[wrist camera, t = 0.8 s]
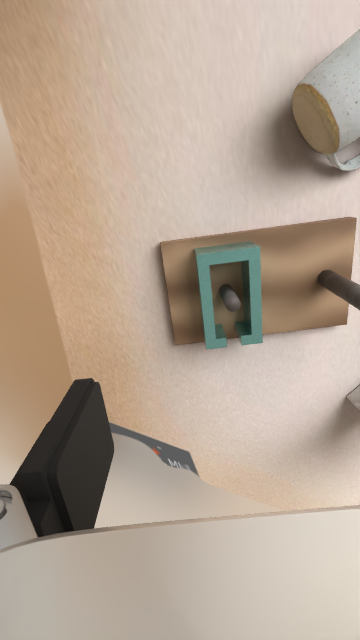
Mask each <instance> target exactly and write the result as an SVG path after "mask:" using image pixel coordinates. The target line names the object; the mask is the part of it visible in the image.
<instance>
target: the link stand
mask: <svg viewBox="0 0 360 640" xmlns="http://www.w3.org/2000/svg"><path fill="white" fill-rule="evenodd" d="M356 219H357V218H353V217H345V218H338V219H330V220H323V221H315V222H308V223H300V224H292V225H285V226H277V227H270V228H262V229H255V230H247V231H240V232H232V233H225V234H217V235H209V236H202V237H194V238H187V239H179V240H172V241H164V242H161V251H162V258H163V265H164V271H165V278H166V285H167V291H168V298H169V305H170V311H171V318H172V325H173V332H174V338H175V345H180V344H189V343H197V342H205V340H204V335H203V325H202V316H201V307H200V298H199V288H198V279H197V270H196V260H195V251H194V248H201V247H209V246H217V245H224V244H232V243H239V242H247V241H252V242H253V243H255V244H257V245H258V246H260V260H261V300H262V335H263V334H272V333H280V332H288V331H296V330H305V329H313V328H321V327H330V326H338V325H346V324H347V317H348V306H349V303H350V304H351V305H353V306H354V307H356V308H357V309H359V310H360V285H359V284H357V283H355V282H353V281H351V274H352V263H353V252H354V241H355V230H356ZM209 268H210V279H211V290H212V301H213V312H214V323H215V325H217V324H222V327H223V330H224V332H225V335H226V339H230V338H238V336H237V333H236V331H235V322H241V321H244V303H243V282H242V262H241V261H237V262H229V263H222V264H214V265H209Z"/></svg>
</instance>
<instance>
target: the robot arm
mask: <svg viewBox="0 0 360 640" xmlns="http://www.w3.org/2000/svg"><path fill="white" fill-rule="evenodd" d="M113 454H114V443H113V439H112V434H111V430H110V426H109V422H108V417H107V413H106V409H105V405H104V400H103V396H102V392H101V388H100V384H99V382H94V380H93V379H92V378H89V379H79V380H75V381H74V382H73V384H72V385H71V387H70V389H69V390H68V392H67V394H66V395H65V397H64V398H63V400H62V402H61V404H60V405H59V407H58V408H57V410H56V412H55V413H54V415H53V417H52V418H51V420H50V421H49V422H48V423H47V424H46V426H45V427H44V429H43V431H42V432H41V434H40V436H39V438H38V439H37V440H36V442H35V444H34V445H33V447H32V449H31V450H30V452H29V453H28V455H27V457H26V458H25V460H24V462H23V464H22V465H21V466H20V468H19V470H18V471H17V473H16V475H15V477H14V478H13V480H12V481H11V483H10V484H9V485H0V640H360V505H354V506H342V507H330V508H317V509H305V510H293V511H281V512H269V513H257V514H245V515H233V516H223V517H210V518H199V519H188V520H177V521H165V522H154V523H143V524H133V525H123V526H113V527H104V528H96V529H94V525H95V522H96V518H97V514H98V511H99V507H100V503H101V499H102V495H103V492H104V488H105V484H106V481H107V477H108V473H109V469H110V465H111V461H112V458H113Z"/></svg>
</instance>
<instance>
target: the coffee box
mask: <svg viewBox="0 0 360 640" xmlns="http://www.w3.org/2000/svg"><path fill="white" fill-rule="evenodd" d="M347 398H348V399H349V400H350V402H351V403H352V404H353V405H354V406H355V407H356V409H357V410H358V411H359V412H360V385H359V386H358V387H357V388H356V389H355V390H354V391H352V392H351V393H350V394H349V395H348V396H347Z"/></svg>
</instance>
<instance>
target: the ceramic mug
mask: <svg viewBox="0 0 360 640" xmlns="http://www.w3.org/2000/svg"><path fill="white" fill-rule="evenodd" d="M292 110H293V115H294V118H295V121H296V123H297V126H298V128H299V130H300V132H301V134H302V135H303V137H304V138H305V140H306V141H307V142H308V144H309V145H310V146H311V147H312V148H313V149H314V150H316V151H318V152H319V153H322V154H326V156H327V158H328V160H329V161H330V163H331V164H332V165H333V166H335V167H336V168H338V169H340V170H344V171H352V170H356V169H358V168H360V154H359V155H358V156H356V157H354V158H353V159H351V160H347V161H346V162H345V163H344V164H341V163H339V161H338V159H337V156H336V152H337V151H339V150H341V149H343V148H345V147H346V146H348V145H349V144H351V143H352V142H354V141H355V140H357V139H358V138H359V137H360V29H359V30H358V31H357V32H356V33H355V34H354V35H352V36H351V37H350V38H349V39H348V40H347V41H345V42H344V43H343V44H342V45H341V46H339V47H338V48H337V49H336V50H335V51H334V52H333V53H332V54H331V55H329V56H328V57H327V58H326V59H325V60H323V61H322V62H321V63H320V64H319V65H318V66H316V67H315V68H314V69H313V70H312V71H310V72H309V73H308V74H307V75H306V77H305V78H304V79H303V80H302V81H301V82H300V83H299V84H298V86H297V87H296V89H295V91H294V94H293V99H292Z"/></svg>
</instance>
